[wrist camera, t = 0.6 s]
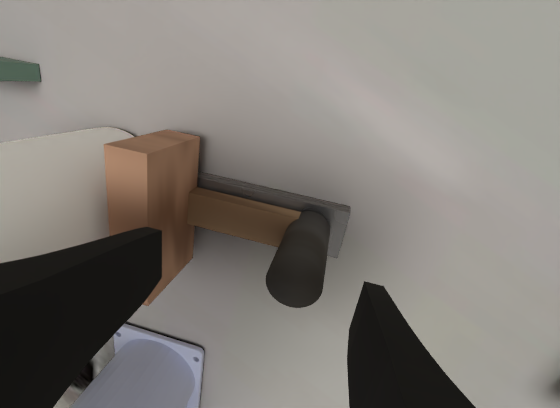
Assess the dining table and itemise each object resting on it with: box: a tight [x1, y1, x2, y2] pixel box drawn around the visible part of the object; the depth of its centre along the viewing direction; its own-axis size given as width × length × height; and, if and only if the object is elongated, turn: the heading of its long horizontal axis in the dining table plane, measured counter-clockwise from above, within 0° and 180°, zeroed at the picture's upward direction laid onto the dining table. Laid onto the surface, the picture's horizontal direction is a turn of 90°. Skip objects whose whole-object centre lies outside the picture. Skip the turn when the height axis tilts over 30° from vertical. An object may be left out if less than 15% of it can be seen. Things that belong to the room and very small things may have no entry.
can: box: [0, 127, 134, 263], centre depth 15 cm, size 6×6×12 cm
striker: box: [104, 130, 330, 308], centre depth 16 cm, size 8×10×5 cm
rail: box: [197, 171, 350, 258], centre depth 19 cm, size 3×11×1 cm, turn 80°
